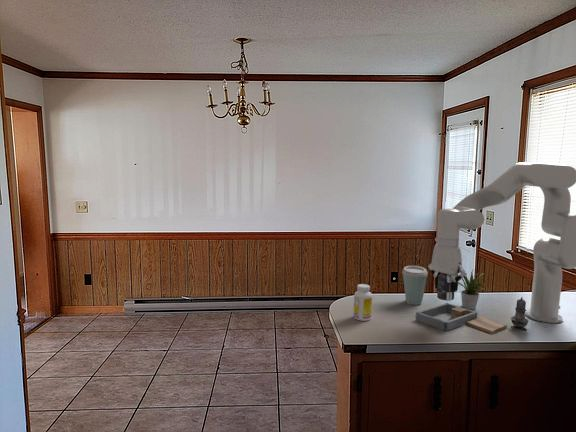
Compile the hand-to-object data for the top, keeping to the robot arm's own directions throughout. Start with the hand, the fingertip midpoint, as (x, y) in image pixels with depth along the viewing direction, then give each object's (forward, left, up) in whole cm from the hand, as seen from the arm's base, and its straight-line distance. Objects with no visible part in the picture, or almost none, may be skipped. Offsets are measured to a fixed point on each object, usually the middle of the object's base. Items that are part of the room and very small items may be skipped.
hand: (446, 289), depth 160 cm
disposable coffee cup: (-8, -20, -13) cm, 25 cm away
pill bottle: (0, 0, -4) cm, 4 cm away
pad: (-9, +12, -13) cm, 20 cm away
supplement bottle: (+24, -19, -13) cm, 33 cm away
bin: (-2, 0, -13) cm, 13 cm away
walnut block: (-7, +2, -13) cm, 15 cm away
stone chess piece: (-17, +20, -13) cm, 29 cm away
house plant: (-22, -4, -13) cm, 26 cm away
